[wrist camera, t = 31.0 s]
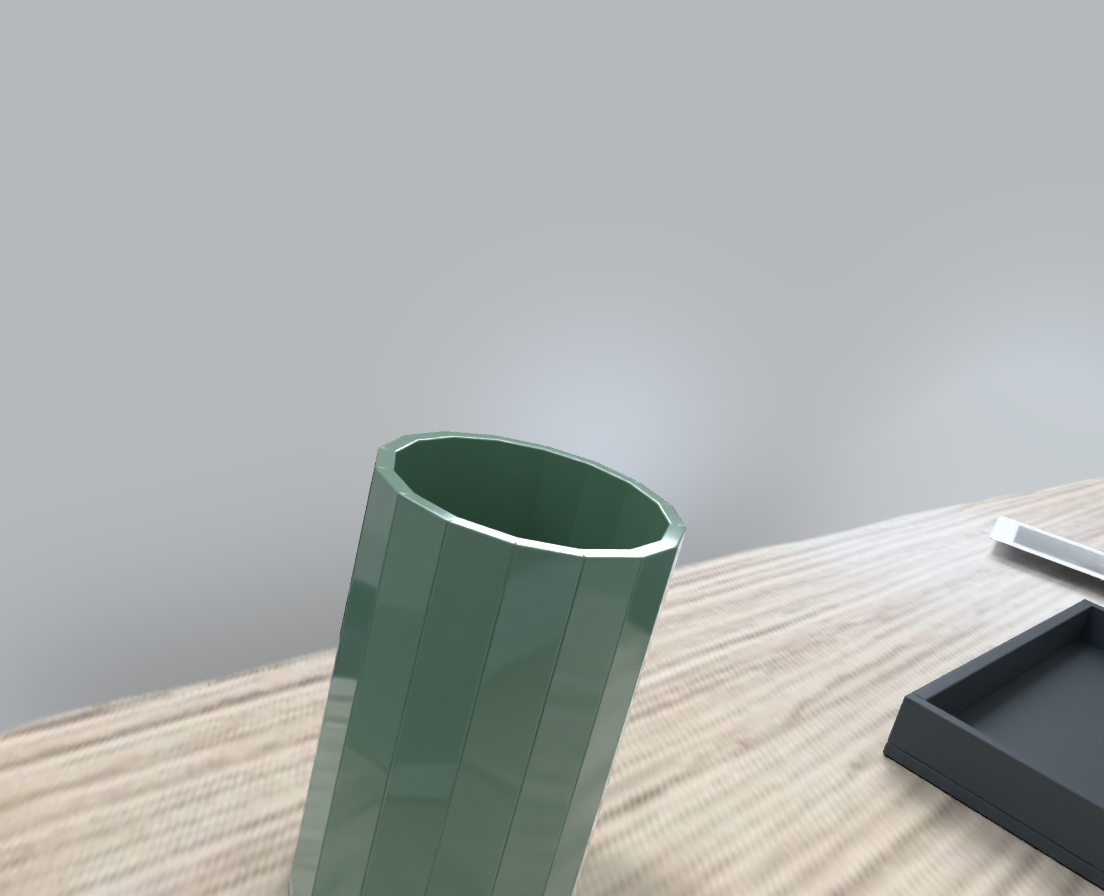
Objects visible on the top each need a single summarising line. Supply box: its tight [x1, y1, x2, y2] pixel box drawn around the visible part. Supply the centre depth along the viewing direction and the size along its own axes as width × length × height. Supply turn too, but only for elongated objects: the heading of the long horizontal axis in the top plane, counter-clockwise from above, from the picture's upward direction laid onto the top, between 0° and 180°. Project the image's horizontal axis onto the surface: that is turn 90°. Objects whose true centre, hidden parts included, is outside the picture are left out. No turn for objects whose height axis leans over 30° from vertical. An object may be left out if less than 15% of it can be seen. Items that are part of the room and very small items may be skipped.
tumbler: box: [289, 432, 686, 896], centre depth 23 cm, size 7×7×11 cm
